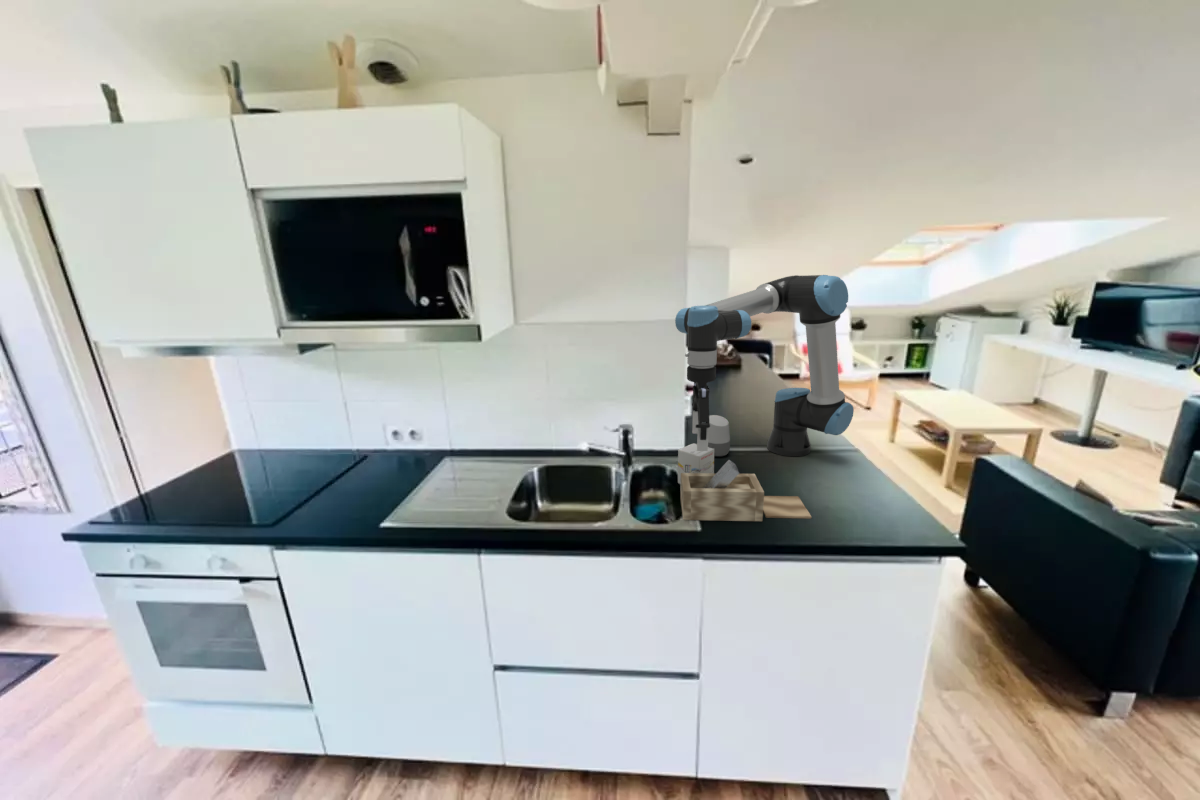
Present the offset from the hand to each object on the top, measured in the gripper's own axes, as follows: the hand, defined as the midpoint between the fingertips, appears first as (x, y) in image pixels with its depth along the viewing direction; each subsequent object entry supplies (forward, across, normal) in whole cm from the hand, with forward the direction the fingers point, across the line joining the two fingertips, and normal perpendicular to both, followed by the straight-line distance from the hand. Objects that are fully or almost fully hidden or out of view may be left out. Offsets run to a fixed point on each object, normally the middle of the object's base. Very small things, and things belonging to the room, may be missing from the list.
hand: (699, 441), depth 133 cm
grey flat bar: (+14, 0, +6) cm, 15 cm away
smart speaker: (+21, -43, +11) cm, 49 cm away
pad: (+21, -2, +24) cm, 32 cm away
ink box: (+21, -18, +1) cm, 28 cm away
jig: (+21, 0, +6) cm, 22 cm away
